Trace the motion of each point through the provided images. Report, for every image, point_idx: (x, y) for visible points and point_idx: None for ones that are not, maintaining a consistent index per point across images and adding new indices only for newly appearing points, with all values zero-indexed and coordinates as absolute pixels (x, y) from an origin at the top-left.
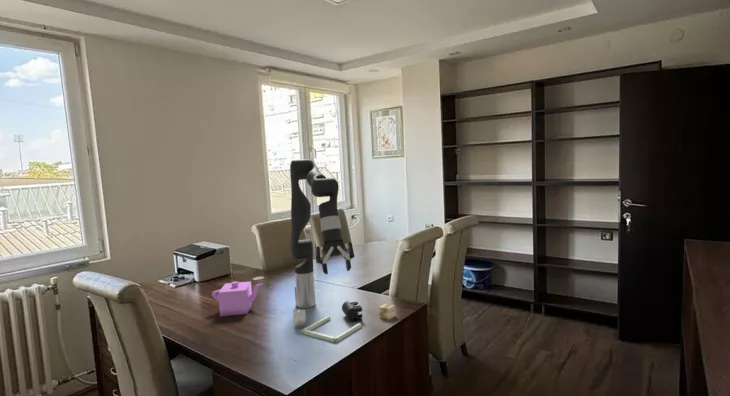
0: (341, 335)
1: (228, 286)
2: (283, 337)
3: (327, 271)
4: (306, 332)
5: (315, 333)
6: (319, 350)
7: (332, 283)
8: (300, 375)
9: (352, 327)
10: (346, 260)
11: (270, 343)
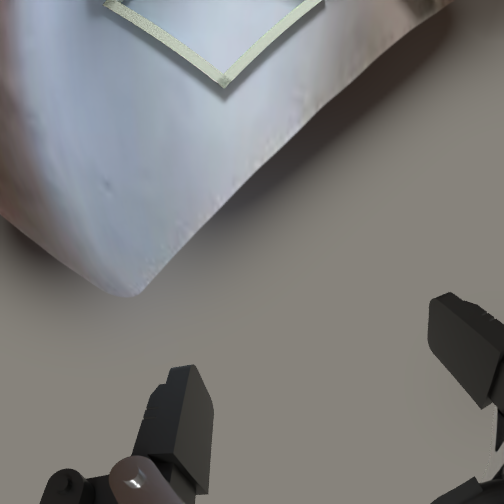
0: (247, 64)
1: None
2: (53, 38)
3: (210, 423)
4: (120, 15)
5: (151, 33)
6: (168, 133)
7: None
8: (136, 256)
9: (294, 12)
10: (497, 384)
11: (25, 81)
